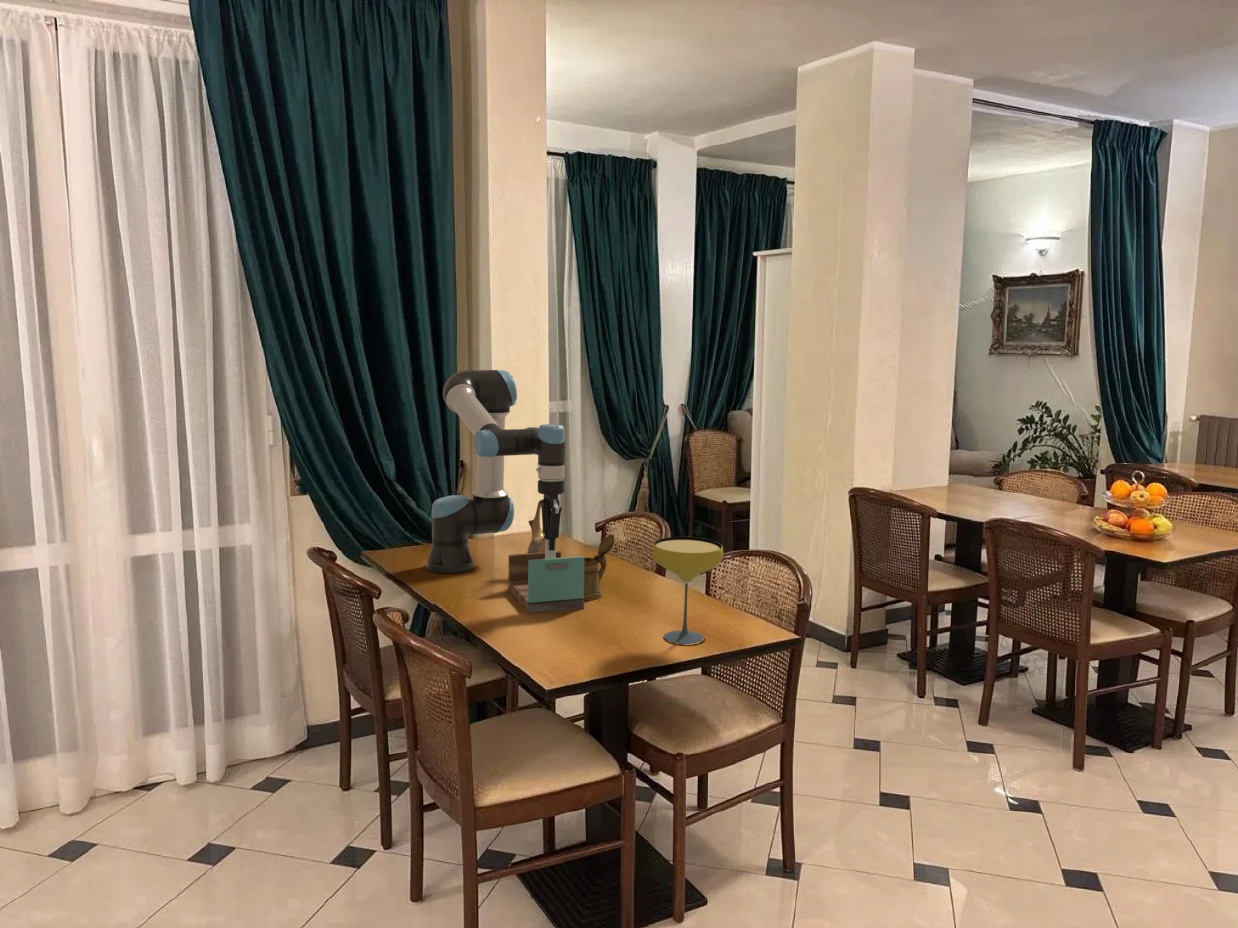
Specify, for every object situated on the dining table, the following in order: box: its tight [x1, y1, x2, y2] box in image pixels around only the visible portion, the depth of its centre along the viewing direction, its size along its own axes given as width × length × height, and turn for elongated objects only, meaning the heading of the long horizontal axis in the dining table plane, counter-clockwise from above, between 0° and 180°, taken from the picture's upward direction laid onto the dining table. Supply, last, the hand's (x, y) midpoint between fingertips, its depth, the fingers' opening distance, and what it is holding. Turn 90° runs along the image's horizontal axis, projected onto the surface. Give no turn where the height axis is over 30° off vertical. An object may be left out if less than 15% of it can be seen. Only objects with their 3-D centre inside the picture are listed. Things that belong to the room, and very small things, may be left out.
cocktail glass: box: [651, 536, 724, 644], centre depth 234 cm, size 18×18×25 cm
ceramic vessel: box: [526, 499, 558, 553], centre depth 288 cm, size 16×9×25 cm, turn 31°
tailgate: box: [528, 555, 585, 603], centre depth 254 cm, size 2×16×12 cm, turn 111°
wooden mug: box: [583, 533, 616, 601], centre depth 270 cm, size 9×14×18 cm, turn 121°
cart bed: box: [508, 550, 585, 615], centre depth 265 cm, size 24×16×11 cm
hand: (550, 560), depth 260 cm, fingers closed
